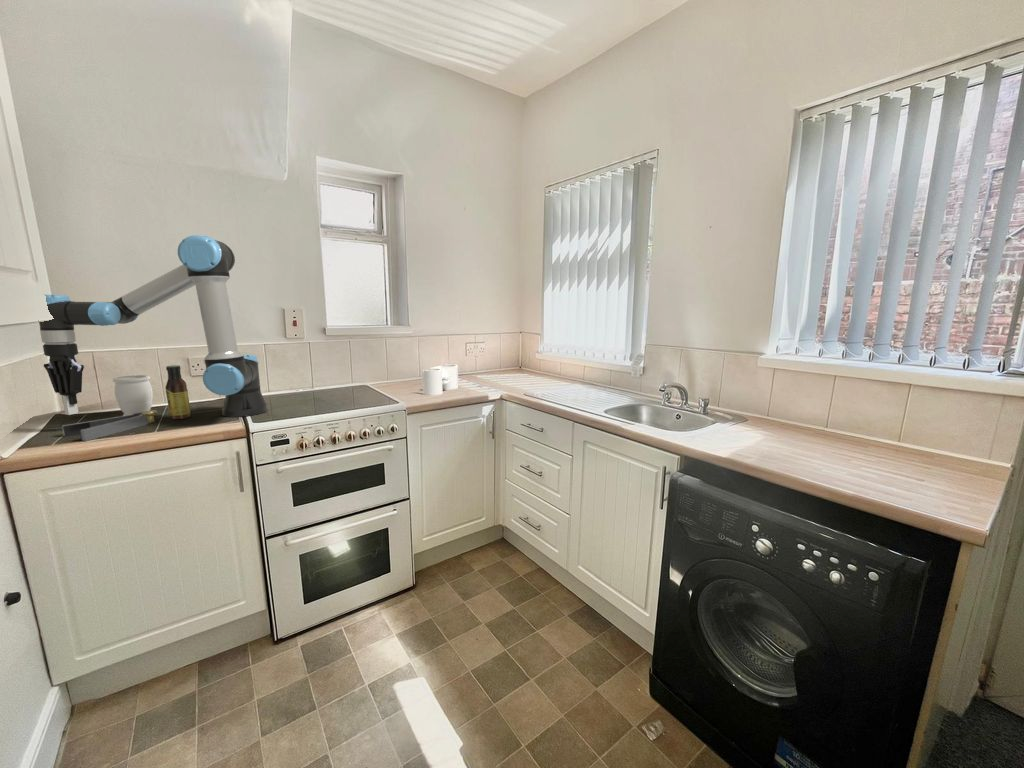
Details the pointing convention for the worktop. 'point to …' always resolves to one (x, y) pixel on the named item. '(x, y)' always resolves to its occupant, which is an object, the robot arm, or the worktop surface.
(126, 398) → the jar
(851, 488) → the worktop surface
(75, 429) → the tongs moving arm
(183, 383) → the sauce bottle
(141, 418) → the arm
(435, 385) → the white paper rolls
